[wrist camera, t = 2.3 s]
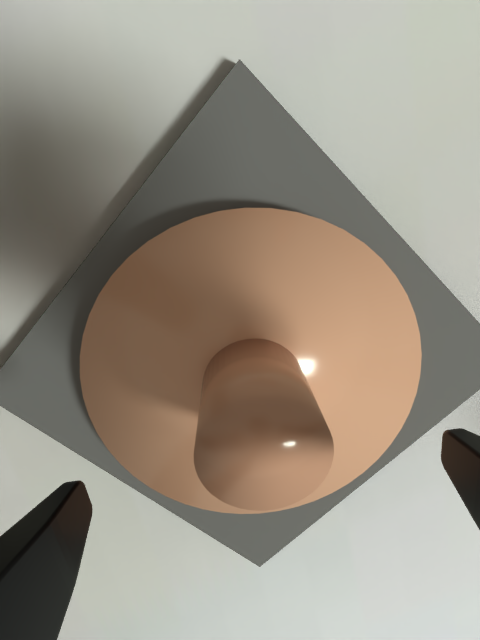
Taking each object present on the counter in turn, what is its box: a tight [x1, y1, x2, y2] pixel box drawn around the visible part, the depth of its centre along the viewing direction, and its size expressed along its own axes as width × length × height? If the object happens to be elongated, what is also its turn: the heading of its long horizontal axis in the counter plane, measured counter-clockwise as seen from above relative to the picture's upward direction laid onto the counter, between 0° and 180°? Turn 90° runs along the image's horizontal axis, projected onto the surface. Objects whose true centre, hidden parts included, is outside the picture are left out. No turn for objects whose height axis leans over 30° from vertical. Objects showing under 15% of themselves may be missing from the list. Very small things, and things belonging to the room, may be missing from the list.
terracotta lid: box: [80, 207, 422, 514], centre depth 11 cm, size 12×12×4 cm
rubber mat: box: [0, 59, 480, 567], centre depth 13 cm, size 14×14×1 cm
